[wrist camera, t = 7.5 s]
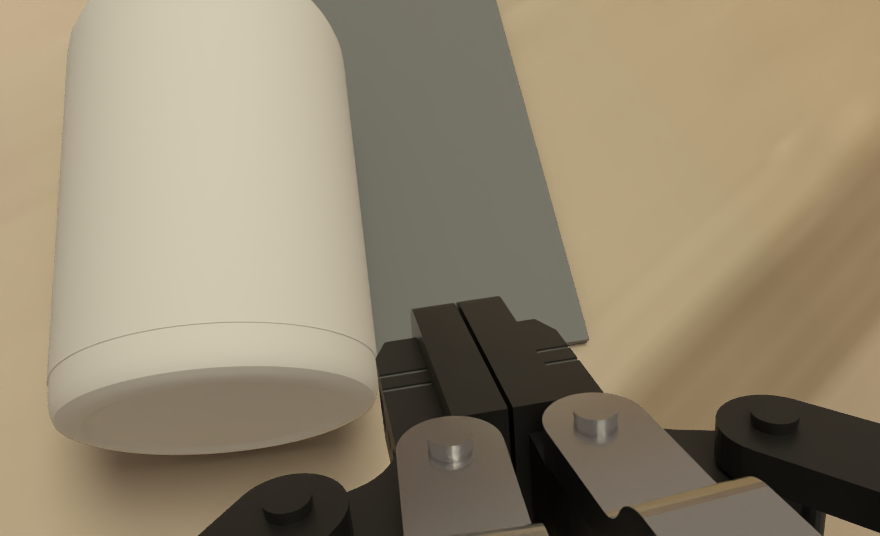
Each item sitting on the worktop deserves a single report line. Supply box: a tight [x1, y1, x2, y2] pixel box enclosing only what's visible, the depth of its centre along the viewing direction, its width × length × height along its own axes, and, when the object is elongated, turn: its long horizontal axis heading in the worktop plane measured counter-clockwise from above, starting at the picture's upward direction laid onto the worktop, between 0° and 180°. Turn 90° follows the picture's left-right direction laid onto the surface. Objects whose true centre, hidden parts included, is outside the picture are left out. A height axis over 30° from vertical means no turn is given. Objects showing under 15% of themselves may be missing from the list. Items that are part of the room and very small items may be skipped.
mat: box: [311, 0, 589, 355], centre depth 28 cm, size 18×12×1 cm, turn 11°
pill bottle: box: [47, 0, 378, 455], centre depth 23 cm, size 8×8×15 cm
